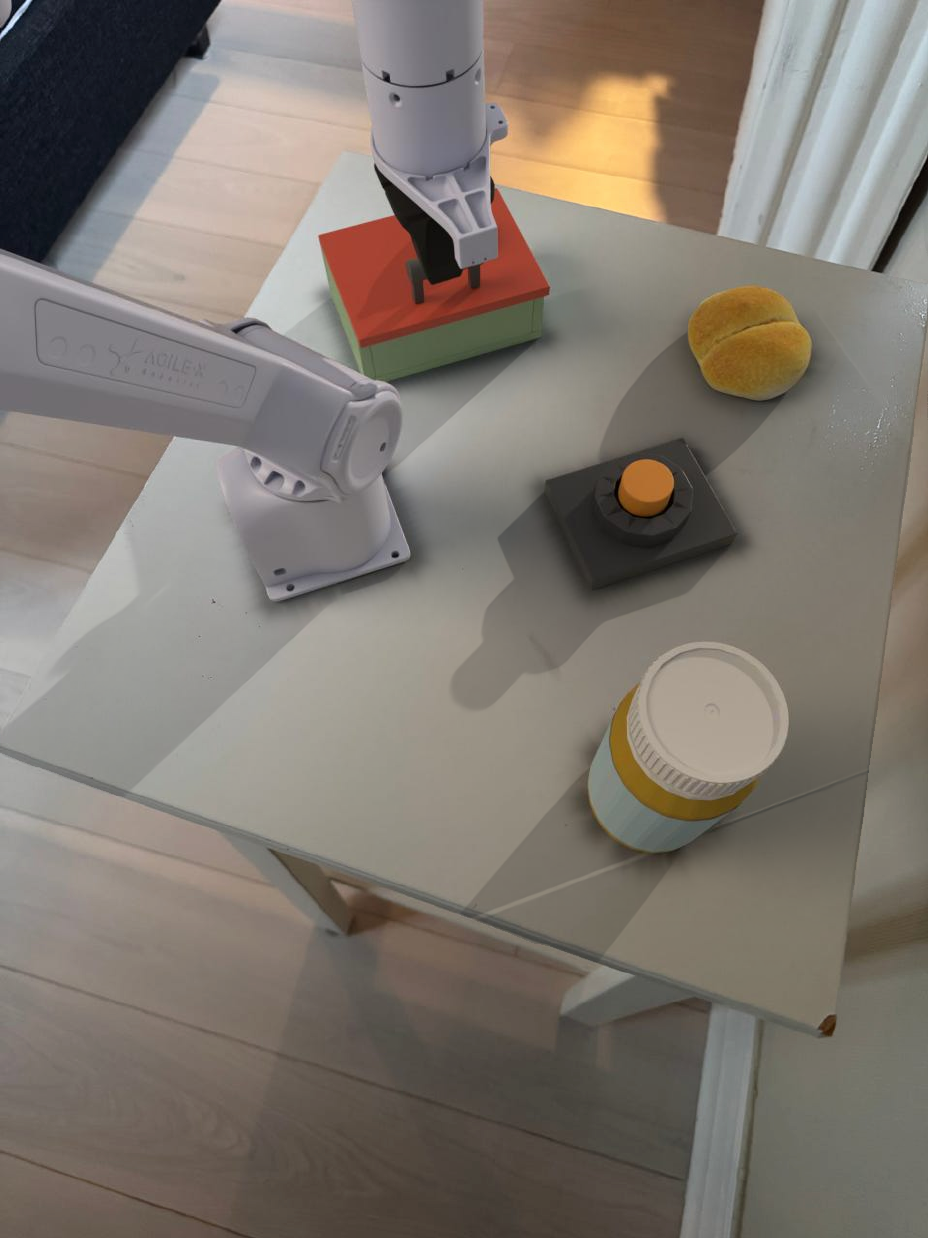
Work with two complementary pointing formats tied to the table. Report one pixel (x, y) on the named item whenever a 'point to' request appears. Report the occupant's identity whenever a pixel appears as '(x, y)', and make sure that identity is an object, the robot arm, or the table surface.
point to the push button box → (637, 517)
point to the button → (645, 488)
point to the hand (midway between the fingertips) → (442, 272)
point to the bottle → (686, 746)
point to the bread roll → (749, 342)
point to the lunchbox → (441, 339)
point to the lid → (424, 279)
